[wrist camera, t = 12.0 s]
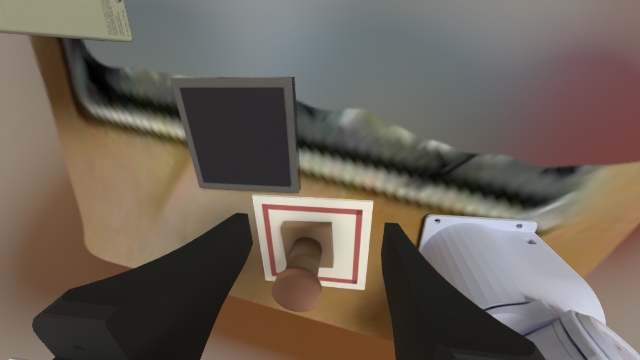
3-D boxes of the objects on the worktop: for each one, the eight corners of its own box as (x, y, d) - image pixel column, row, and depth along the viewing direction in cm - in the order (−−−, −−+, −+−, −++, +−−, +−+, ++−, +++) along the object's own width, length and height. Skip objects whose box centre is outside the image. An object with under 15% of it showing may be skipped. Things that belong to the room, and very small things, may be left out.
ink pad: (294, 76, 19) (290, 77, 18) (300, 187, 24) (298, 193, 22) (178, 77, 20) (169, 78, 19) (205, 183, 25) (198, 188, 24)
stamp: (332, 220, 24) (324, 275, 18) (334, 257, 27) (327, 318, 20) (284, 219, 25) (261, 271, 19) (290, 255, 27) (270, 313, 21)
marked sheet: (372, 200, 23) (373, 202, 23) (364, 288, 28) (364, 290, 28) (253, 194, 25) (251, 195, 24) (266, 278, 30) (265, 280, 30)
